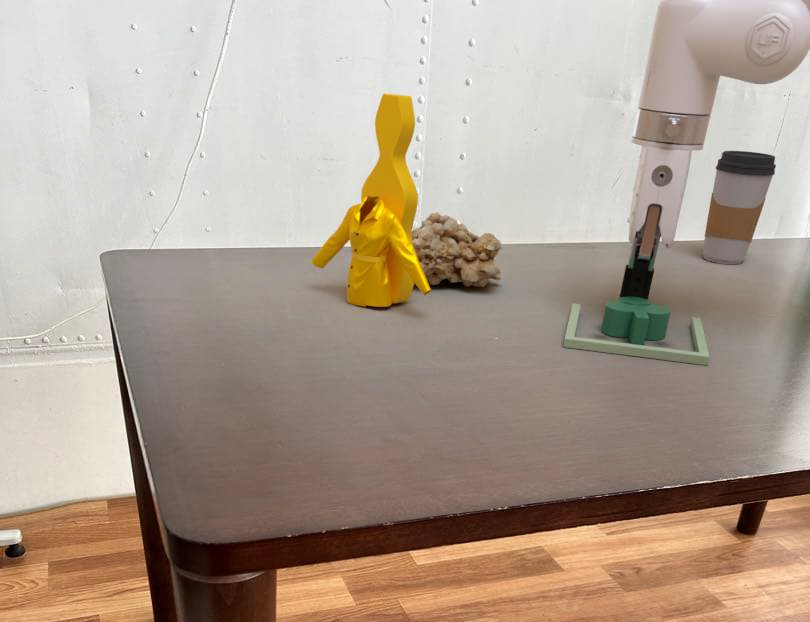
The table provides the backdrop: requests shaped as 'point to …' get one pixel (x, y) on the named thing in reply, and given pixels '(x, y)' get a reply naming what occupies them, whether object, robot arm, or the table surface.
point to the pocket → (639, 350)
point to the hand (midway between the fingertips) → (632, 301)
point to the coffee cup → (736, 204)
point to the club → (635, 319)
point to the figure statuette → (383, 218)
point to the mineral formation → (455, 252)
